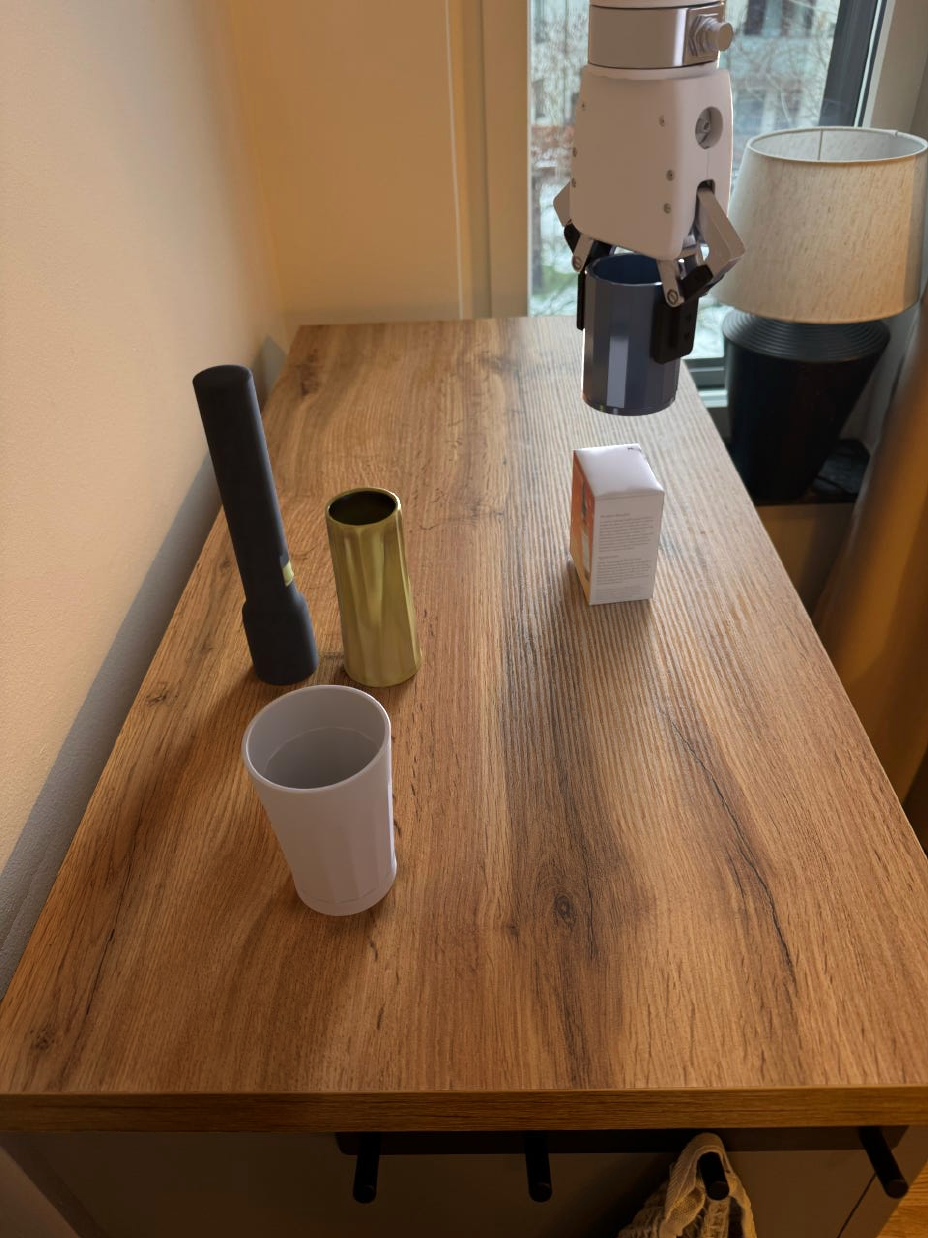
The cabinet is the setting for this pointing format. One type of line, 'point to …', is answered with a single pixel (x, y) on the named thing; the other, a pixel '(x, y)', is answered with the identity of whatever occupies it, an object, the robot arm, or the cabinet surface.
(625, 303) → the tumbler
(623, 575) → the small box
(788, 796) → the cabinet surface
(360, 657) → the vase
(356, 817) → the cup
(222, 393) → the flashlight
